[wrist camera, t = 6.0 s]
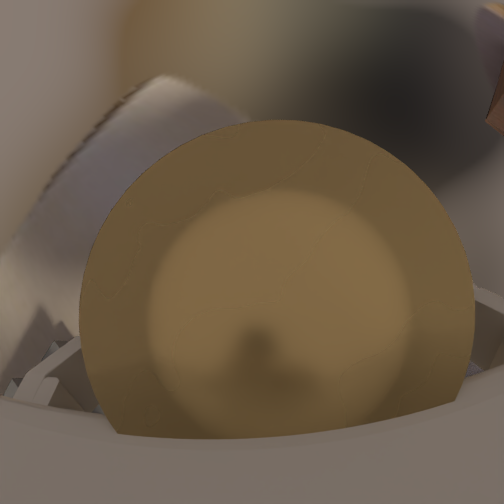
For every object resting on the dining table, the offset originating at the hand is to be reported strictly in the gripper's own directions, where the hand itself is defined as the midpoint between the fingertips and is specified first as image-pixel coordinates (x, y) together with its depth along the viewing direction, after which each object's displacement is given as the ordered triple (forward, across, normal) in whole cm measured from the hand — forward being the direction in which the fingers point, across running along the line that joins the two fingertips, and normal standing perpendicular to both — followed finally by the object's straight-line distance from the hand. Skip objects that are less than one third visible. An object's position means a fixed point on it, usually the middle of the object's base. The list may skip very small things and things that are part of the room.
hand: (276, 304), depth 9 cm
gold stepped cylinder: (+4, 0, +5) cm, 6 cm away
